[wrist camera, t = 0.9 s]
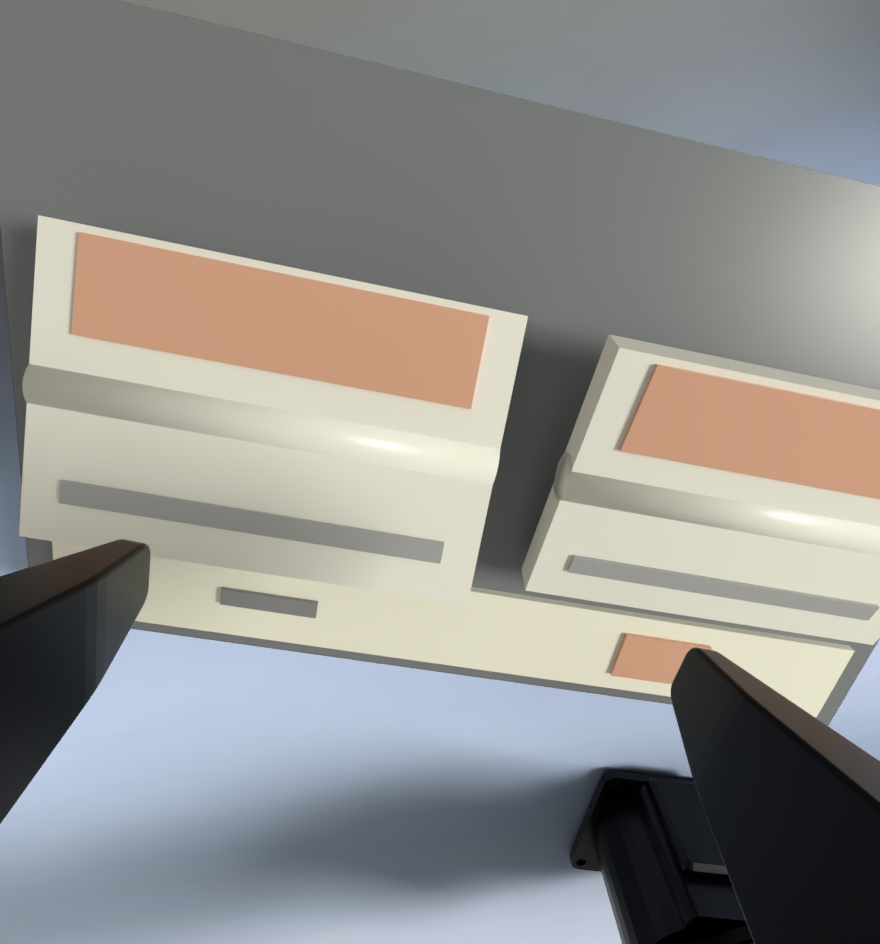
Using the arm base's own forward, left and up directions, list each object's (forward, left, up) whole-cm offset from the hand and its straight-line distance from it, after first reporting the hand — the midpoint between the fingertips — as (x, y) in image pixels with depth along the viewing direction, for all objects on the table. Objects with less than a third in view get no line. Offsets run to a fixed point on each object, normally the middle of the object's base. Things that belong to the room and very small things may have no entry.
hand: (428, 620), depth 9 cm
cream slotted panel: (+1, -10, -7) cm, 12 cm away
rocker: (+1, +4, -7) cm, 8 cm away
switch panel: (+1, -3, -12) cm, 12 cm away
